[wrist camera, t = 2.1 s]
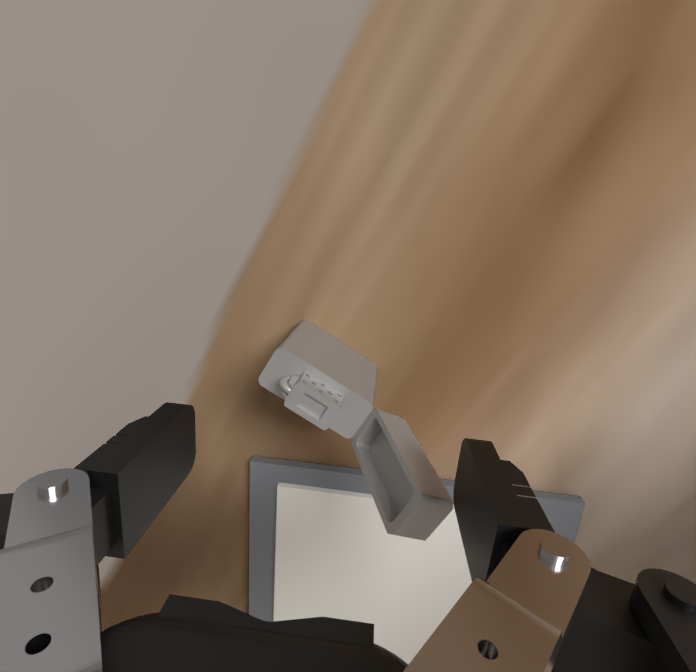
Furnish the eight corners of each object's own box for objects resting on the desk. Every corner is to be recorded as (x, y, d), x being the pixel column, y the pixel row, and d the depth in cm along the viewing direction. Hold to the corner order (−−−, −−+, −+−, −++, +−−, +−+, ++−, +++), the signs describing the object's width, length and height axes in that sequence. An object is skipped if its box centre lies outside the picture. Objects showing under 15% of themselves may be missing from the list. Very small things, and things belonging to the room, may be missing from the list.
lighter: (284, 347, 19) (213, 432, 12) (303, 317, 19) (242, 385, 11) (411, 427, 20) (423, 559, 12) (432, 400, 19) (459, 519, 12)
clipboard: (580, 496, 20) (596, 521, 18) (505, 774, 26) (513, 812, 24) (252, 455, 21) (241, 475, 20) (250, 728, 27) (241, 761, 25)
